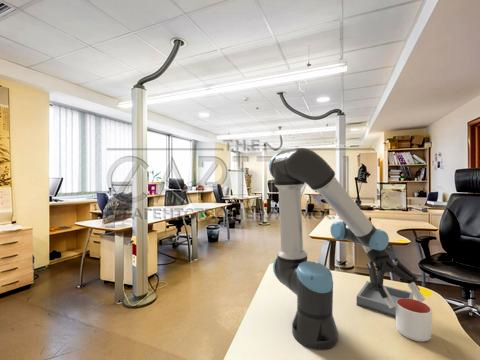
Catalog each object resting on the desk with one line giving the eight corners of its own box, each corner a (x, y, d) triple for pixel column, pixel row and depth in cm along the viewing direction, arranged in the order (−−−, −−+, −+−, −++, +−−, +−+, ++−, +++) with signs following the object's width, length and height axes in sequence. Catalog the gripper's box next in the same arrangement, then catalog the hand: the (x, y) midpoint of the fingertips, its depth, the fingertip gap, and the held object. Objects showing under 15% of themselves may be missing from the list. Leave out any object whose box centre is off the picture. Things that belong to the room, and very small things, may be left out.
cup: (429, 330, 86) (429, 302, 86) (433, 347, 78) (433, 316, 77) (395, 321, 91) (395, 295, 91) (395, 336, 83) (396, 307, 83)
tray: (356, 305, 103) (356, 295, 103) (367, 289, 116) (367, 281, 116) (408, 321, 91) (408, 311, 91) (413, 302, 105) (413, 292, 105)
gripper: (393, 251, 108) (426, 302, 94) (345, 257, 101) (373, 312, 88) (404, 242, 103) (441, 295, 89) (354, 248, 96) (386, 306, 82)
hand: (407, 304), depth 88 cm, fingers open, 13 cm apart
